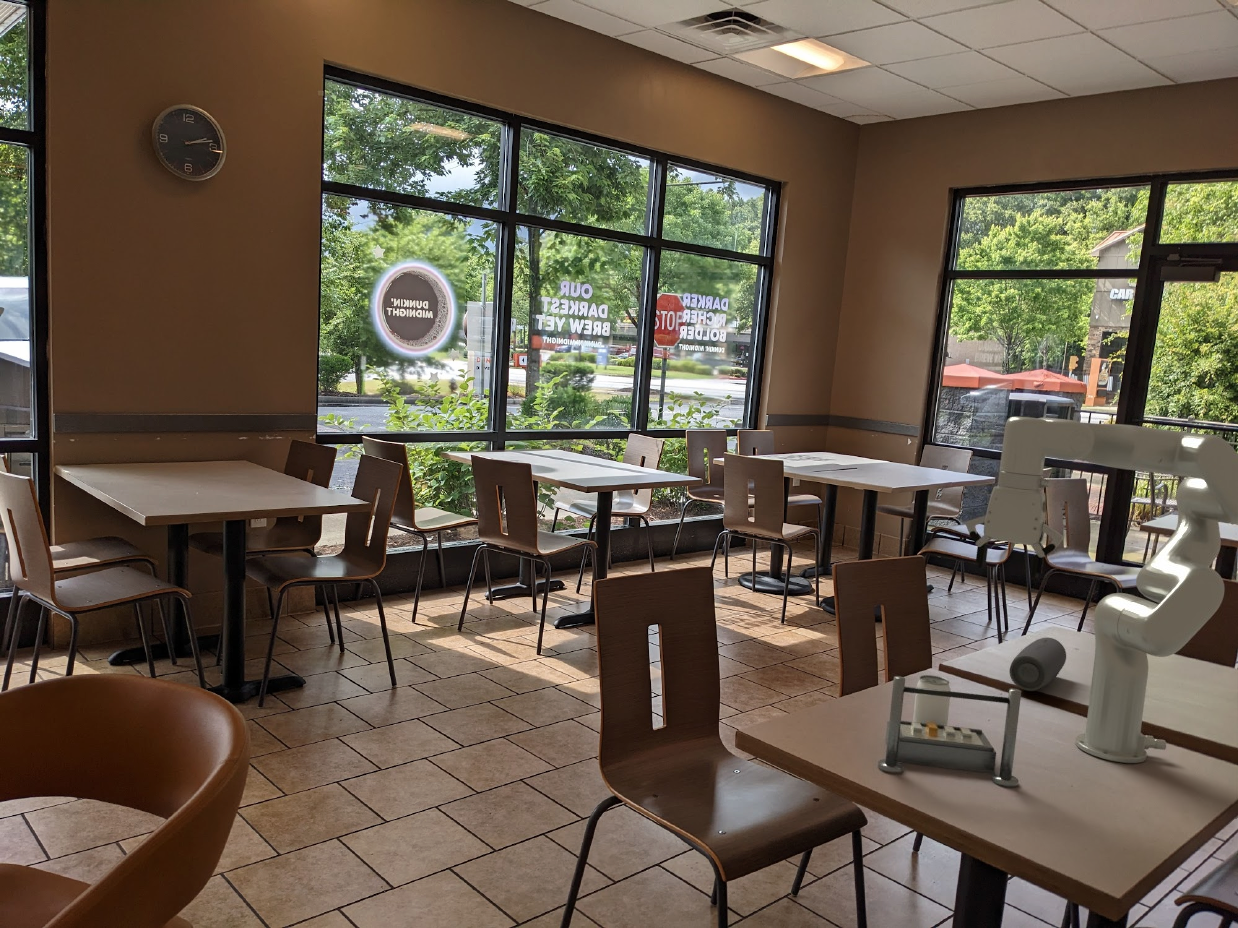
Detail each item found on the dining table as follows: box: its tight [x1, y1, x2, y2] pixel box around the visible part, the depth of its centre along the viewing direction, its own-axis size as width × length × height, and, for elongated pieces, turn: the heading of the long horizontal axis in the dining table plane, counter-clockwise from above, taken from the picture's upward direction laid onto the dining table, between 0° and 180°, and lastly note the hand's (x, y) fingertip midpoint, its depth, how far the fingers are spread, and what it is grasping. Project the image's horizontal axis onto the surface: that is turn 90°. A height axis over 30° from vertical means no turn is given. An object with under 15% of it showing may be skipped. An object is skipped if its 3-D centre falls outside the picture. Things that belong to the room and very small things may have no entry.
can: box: [912, 674, 952, 726], centre depth 189 cm, size 6×6×12 cm
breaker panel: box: [884, 720, 997, 774], centre depth 180 cm, size 18×10×6 cm, turn 82°
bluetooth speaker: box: [1009, 637, 1067, 692], centre depth 230 cm, size 23×9×10 cm, turn 144°
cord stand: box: [877, 675, 1022, 789], centre depth 171 cm, size 24×4×17 cm, turn 82°
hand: (1007, 571), depth 180 cm, fingers open, 9 cm apart
